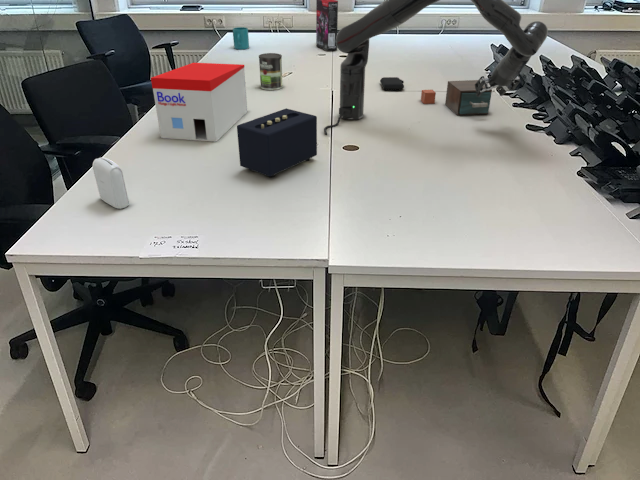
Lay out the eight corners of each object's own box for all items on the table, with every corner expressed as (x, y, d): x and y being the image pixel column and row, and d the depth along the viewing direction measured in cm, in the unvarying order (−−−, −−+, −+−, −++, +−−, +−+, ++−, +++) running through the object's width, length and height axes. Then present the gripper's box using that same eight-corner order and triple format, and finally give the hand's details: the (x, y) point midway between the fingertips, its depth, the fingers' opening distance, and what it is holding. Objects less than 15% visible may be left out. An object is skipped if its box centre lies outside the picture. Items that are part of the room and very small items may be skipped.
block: (434, 103, 220) (435, 92, 218) (423, 103, 220) (424, 92, 217) (431, 100, 224) (432, 89, 222) (420, 100, 224) (421, 89, 221)
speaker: (287, 150, 175) (286, 105, 168) (317, 159, 168) (317, 113, 161) (239, 170, 161) (235, 122, 153) (270, 181, 154) (267, 132, 146)
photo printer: (98, 199, 145) (87, 156, 138) (112, 194, 147) (103, 152, 141) (117, 211, 139) (107, 167, 132) (132, 205, 141) (122, 162, 135)
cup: (231, 50, 313) (229, 30, 307) (236, 46, 323) (234, 27, 318) (246, 50, 312) (245, 30, 307) (250, 46, 323) (249, 27, 317)
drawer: (493, 116, 202) (496, 96, 198) (464, 117, 201) (467, 97, 197) (475, 102, 218) (478, 83, 214) (448, 103, 216) (450, 84, 212)
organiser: (488, 114, 208) (492, 89, 203) (457, 115, 206) (460, 90, 201) (474, 103, 220) (477, 79, 215) (445, 104, 219) (447, 81, 214)
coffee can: (275, 91, 237) (273, 58, 230) (256, 88, 241) (254, 56, 234) (287, 85, 245) (286, 54, 238) (268, 83, 249) (266, 52, 242)
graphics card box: (315, 46, 322) (315, -3, 308) (325, 45, 325) (325, -3, 311) (327, 52, 309) (327, 1, 295) (338, 50, 311) (338, 0, 297)
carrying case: (406, 91, 236) (402, 82, 249) (407, 84, 234) (402, 76, 247) (382, 91, 236) (379, 83, 249) (383, 84, 234) (379, 76, 247)
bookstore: (160, 138, 186) (150, 77, 175) (199, 108, 215) (192, 55, 204) (216, 142, 182) (209, 80, 171) (247, 111, 212) (243, 57, 201)
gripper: (489, 80, 174) (471, 104, 190) (530, 78, 175) (509, 102, 191) (485, 59, 176) (468, 85, 191) (526, 58, 177) (506, 84, 193)
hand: (489, 94), depth 191 cm, fingers open, 8 cm apart
